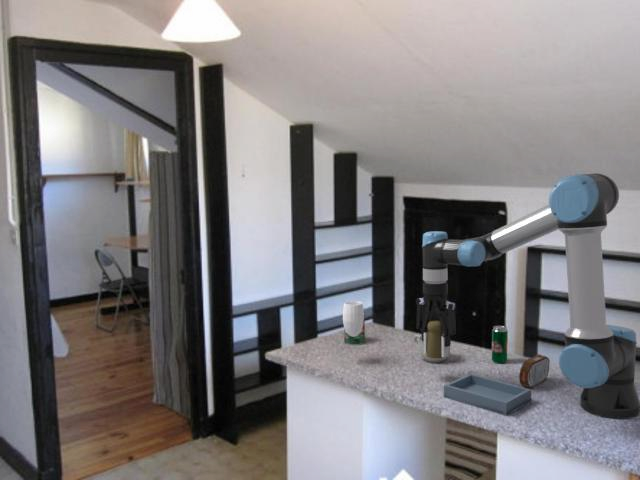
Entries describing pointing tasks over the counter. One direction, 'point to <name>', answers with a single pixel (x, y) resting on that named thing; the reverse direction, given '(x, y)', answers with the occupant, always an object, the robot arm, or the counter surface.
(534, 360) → the tin
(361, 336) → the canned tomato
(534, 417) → the counter surface
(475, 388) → the tray
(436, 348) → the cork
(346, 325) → the cup
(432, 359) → the teacup
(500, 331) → the soda can
